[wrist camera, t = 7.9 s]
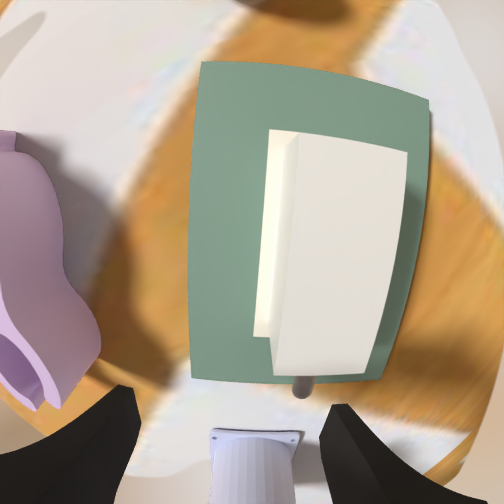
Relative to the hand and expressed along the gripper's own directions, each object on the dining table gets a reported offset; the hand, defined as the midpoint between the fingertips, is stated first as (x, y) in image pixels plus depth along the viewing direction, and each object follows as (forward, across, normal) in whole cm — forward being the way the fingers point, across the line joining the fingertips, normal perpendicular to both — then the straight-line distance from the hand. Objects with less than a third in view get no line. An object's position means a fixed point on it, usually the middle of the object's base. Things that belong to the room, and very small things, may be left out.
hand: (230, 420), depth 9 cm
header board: (+9, -4, -5) cm, 11 cm away
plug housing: (+8, -4, -3) cm, 9 cm away
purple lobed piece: (+10, +18, -2) cm, 20 cm away
